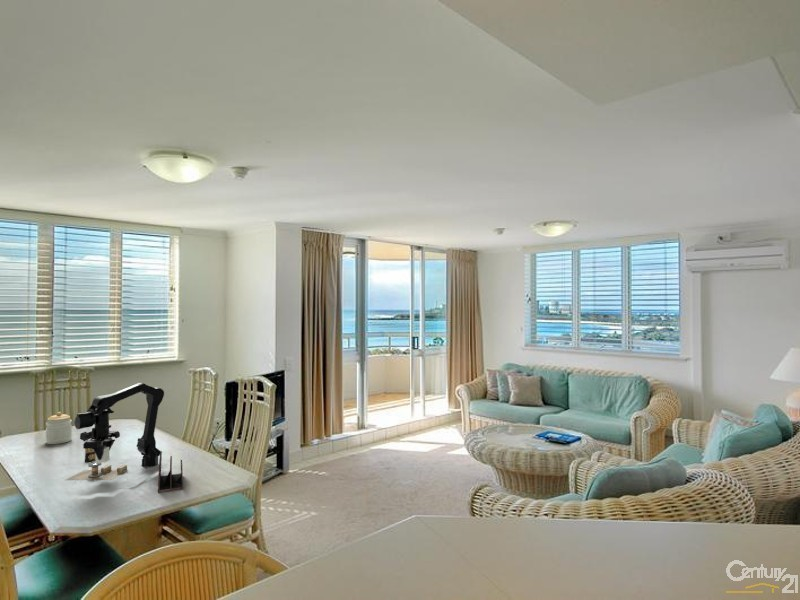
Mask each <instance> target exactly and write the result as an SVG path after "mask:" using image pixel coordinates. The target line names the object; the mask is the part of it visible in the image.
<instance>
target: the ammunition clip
mask: <svg viewBox="0 0 800 600" xmlns="http://www.w3.org/2000/svg"><path fill="white" fill-rule="evenodd" d="M89 440H91V439H88V440H86V441H89ZM93 440H96V439H93ZM86 441H85V442H86ZM89 462H91V463H94V462H96V461H95V451H94V450H93V449H92V448H89V449H84V463H88V464H90V463H89Z"/></svg>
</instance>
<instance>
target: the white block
mask: <svg viewBox="0 0 800 600" xmlns="http://www.w3.org/2000/svg"><path fill="white" fill-rule="evenodd" d="M109 460H110V451H109V447H105V448H104V452H103V455H102V459H101V460H98V458H97V455H96V453H95V461H94V462H96V463H100V462H101V463H106V462H107V461H109Z"/></svg>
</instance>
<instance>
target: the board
mask: <svg viewBox="0 0 800 600" xmlns="http://www.w3.org/2000/svg"><path fill="white" fill-rule="evenodd" d="M98 473H101V469H98ZM90 474H92V469H83V470H82V471H80V472H77V473H75V474H73V475H71V476H70V477H67V478H66V479H65V481H111V480H113V479H115V478H116V477H118V476H120V475H121V474H117V469H111V471H109V472H107V473H105V474H101V476H99V477H95V478H89V477H88V475H90Z"/></svg>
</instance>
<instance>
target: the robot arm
mask: <svg viewBox="0 0 800 600" xmlns="http://www.w3.org/2000/svg"><path fill="white" fill-rule="evenodd" d="M139 393H142V394H143V395H145V397H146V403H147V409H146V415H145V422H144V423H145V424H144V427H143V433H142V436H141V438H139V437H138V438H137V444H136V445H135V447H137V448H136V449H137V450H138V452H139V453H140V454H141V456H142V459H141V466H142V467H145V468H150V467H151V468H152V467H156V466H159V457H160V451H161V450H160V449H159V448H157V447H156V444H157V443H156V438H155V430H156V423H157V420H158V419H157V417H158V411H159V408H160V407H159V406H160V404H161V403H162V401H163V400H164V396H165V391H164V389H163V388H160V387H153V386H150V385H148V384H146V383H143V382H137V383H135V384H133V385H130V386H128V387H126V388H124V389H120V390H118V391H116V392H113V393H109V394H103V395H99V396H96V397H94V398H93V400H92V402H91V405H90V406H89V408H88V409H87V410H86V412H80V413H76V416H75V419H74V421H73V422H74V427H75V429H76V430H81V429H87V428H91V430H90V431H88V432H87V431H83V432H81V433H80V434H79V436H80V437H79V439H80V440H82V441H83V442H84V443H82V448H83V449H84V450H85V449H89V448H92V449H93V450H94V451H95V453H96V455H97V458H98V460H101V459H102V455H103V452H104V448H105V447H109V452H110V451H111V449H112V446H113V445H114V443H115V442H116V439H117V438H120V437H121V432H120V431H118V430H110V428H112V425H111V424H110V414H114V413H115V411H114V410H112V409H111V408H112V407H113V406H115V404H116V403H118V402H121V401H122V400H125V399H127V398H129V397H132V396H135V395H136V394H139ZM113 438H115V439H113ZM90 439H91V440H90ZM94 439H96V440H94ZM86 440H88V441H86Z"/></svg>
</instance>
